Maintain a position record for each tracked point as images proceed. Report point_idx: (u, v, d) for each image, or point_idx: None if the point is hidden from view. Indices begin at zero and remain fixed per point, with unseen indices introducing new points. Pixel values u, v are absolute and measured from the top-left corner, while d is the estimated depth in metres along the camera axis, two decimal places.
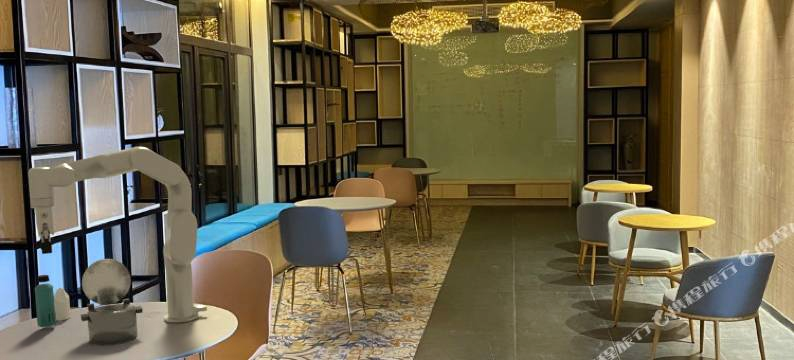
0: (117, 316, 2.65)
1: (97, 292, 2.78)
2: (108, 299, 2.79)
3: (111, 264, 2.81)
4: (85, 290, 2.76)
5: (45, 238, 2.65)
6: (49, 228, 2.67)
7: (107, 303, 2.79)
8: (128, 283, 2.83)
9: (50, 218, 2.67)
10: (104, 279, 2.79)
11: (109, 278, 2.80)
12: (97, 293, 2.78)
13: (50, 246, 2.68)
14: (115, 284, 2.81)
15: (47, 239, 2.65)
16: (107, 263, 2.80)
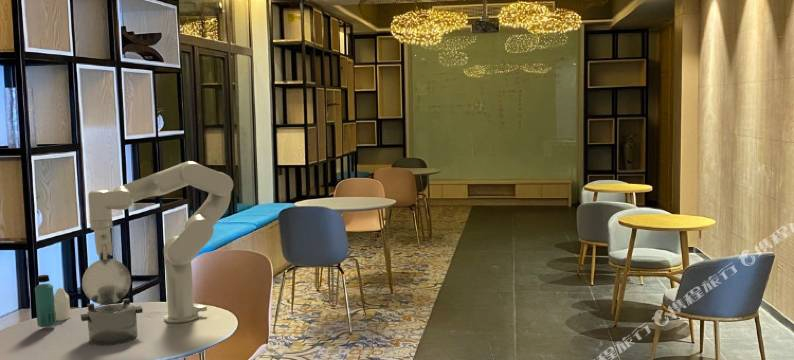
0: (117, 316, 2.65)
1: (97, 292, 2.77)
2: (108, 299, 2.79)
3: (111, 264, 2.80)
4: (85, 290, 2.76)
5: None
6: (108, 249, 2.78)
7: (107, 303, 2.79)
8: (128, 283, 2.82)
9: (109, 239, 2.79)
10: (104, 279, 2.79)
11: (109, 278, 2.79)
12: (97, 293, 2.77)
13: None
14: (115, 284, 2.80)
15: None
16: (107, 263, 2.79)
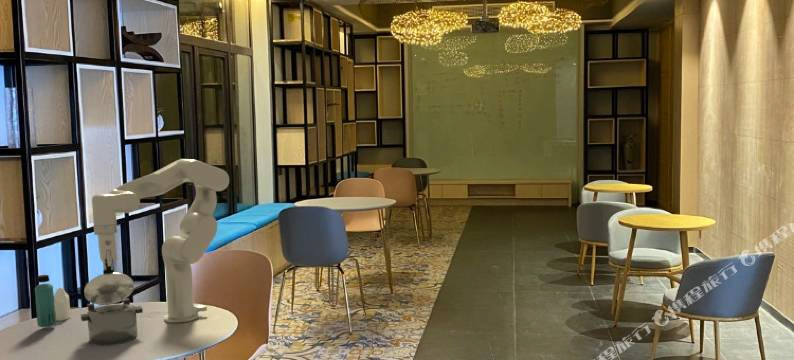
0: (117, 316, 2.65)
1: (98, 297, 2.74)
2: (109, 301, 2.78)
3: (116, 278, 2.71)
4: (87, 297, 2.72)
5: (108, 266, 2.69)
6: (112, 255, 2.68)
7: (107, 303, 2.79)
8: (131, 290, 2.78)
9: (113, 245, 2.68)
10: (107, 289, 2.73)
11: (112, 288, 2.73)
12: (98, 298, 2.75)
13: None
14: (117, 291, 2.76)
15: (109, 267, 2.70)
16: (112, 278, 2.70)
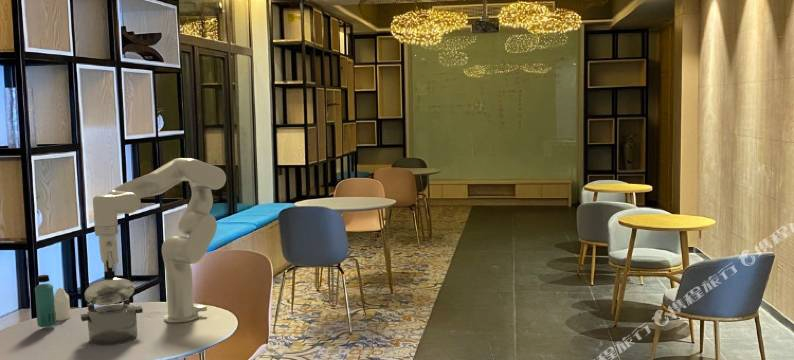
0: (117, 316, 2.65)
1: (99, 299, 2.74)
2: (109, 302, 2.78)
3: (117, 284, 2.70)
4: (87, 299, 2.71)
5: (109, 268, 2.67)
6: (114, 256, 2.65)
7: (107, 304, 2.78)
8: (131, 292, 2.77)
9: (115, 246, 2.66)
10: (108, 292, 2.72)
11: (113, 291, 2.73)
12: (99, 299, 2.74)
13: (113, 275, 2.70)
14: (118, 294, 2.75)
15: (111, 269, 2.68)
16: (113, 283, 2.69)
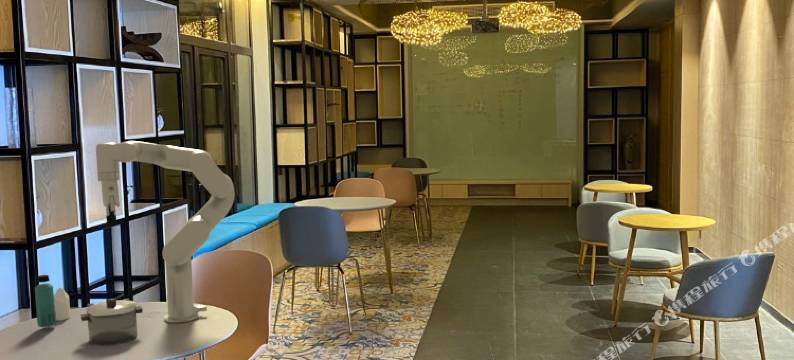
0: (117, 316, 2.65)
1: None
2: None
3: None
4: None
5: (111, 211, 2.83)
6: (115, 200, 2.82)
7: None
8: None
9: (116, 191, 2.82)
10: None
11: None
12: None
13: (115, 219, 2.86)
14: None
15: (112, 212, 2.84)
16: None
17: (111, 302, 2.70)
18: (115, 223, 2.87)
